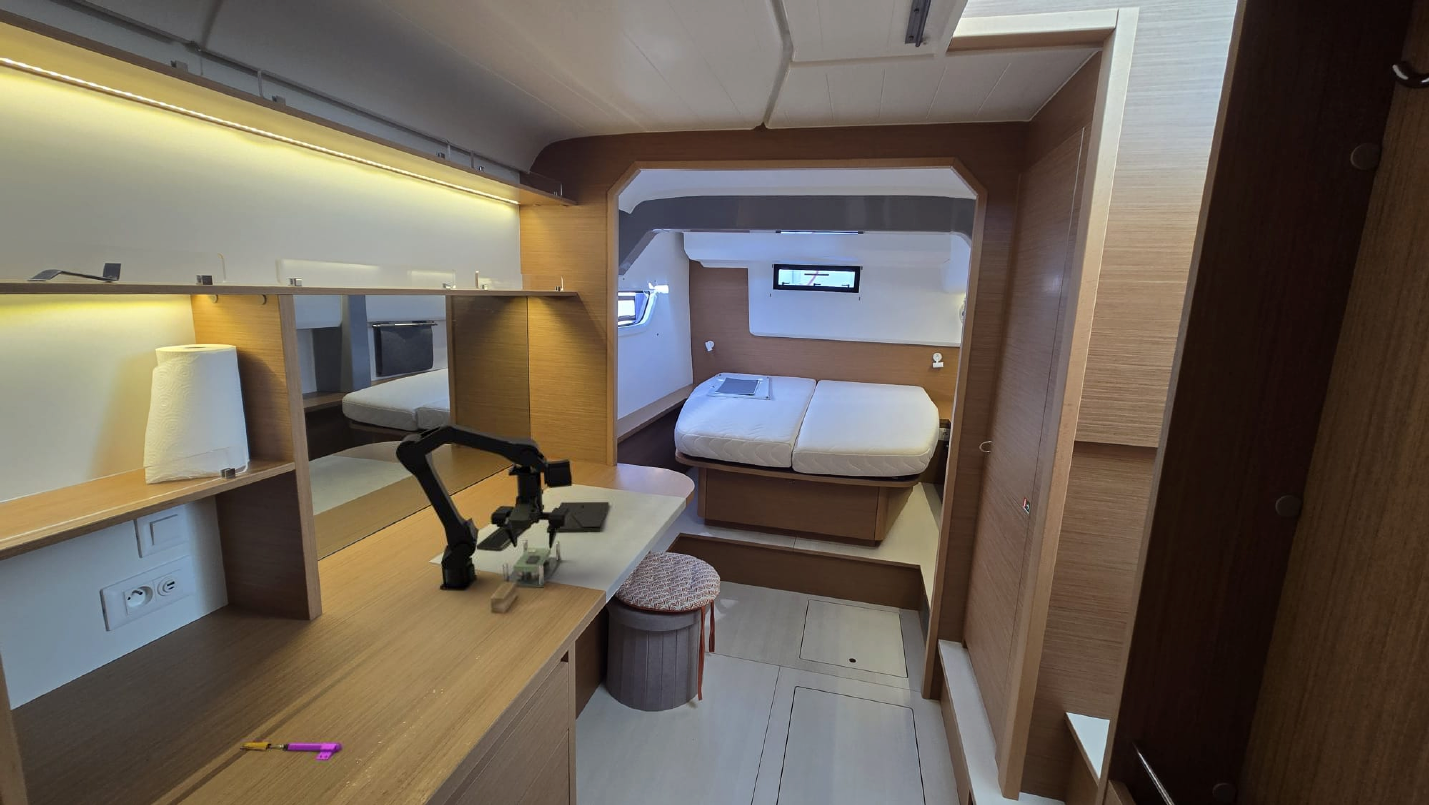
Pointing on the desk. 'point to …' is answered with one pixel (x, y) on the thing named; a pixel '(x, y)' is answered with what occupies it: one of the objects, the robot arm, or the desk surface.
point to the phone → (497, 540)
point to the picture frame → (584, 517)
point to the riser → (503, 597)
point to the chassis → (534, 578)
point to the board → (532, 559)
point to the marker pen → (306, 748)
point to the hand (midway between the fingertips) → (533, 547)
